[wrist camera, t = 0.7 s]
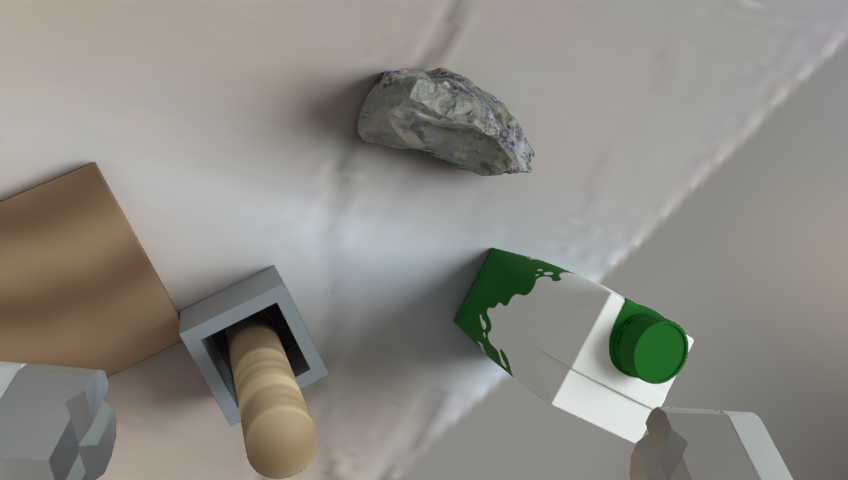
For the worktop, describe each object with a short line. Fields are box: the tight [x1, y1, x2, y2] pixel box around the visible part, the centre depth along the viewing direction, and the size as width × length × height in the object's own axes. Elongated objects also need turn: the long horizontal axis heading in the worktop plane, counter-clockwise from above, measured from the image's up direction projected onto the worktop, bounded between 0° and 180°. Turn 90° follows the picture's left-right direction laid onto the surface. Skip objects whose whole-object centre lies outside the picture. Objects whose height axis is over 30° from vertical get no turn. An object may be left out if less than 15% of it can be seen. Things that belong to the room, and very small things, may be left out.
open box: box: [179, 266, 329, 426], centre depth 51 cm, size 8×8×6 cm
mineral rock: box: [358, 68, 534, 176], centre depth 51 cm, size 13×11×10 cm
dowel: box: [226, 310, 318, 479], centre depth 44 cm, size 4×4×20 cm
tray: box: [0, 162, 182, 377], centre depth 48 cm, size 14×12×1 cm
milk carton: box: [454, 248, 693, 444], centre depth 51 cm, size 9×9×20 cm
